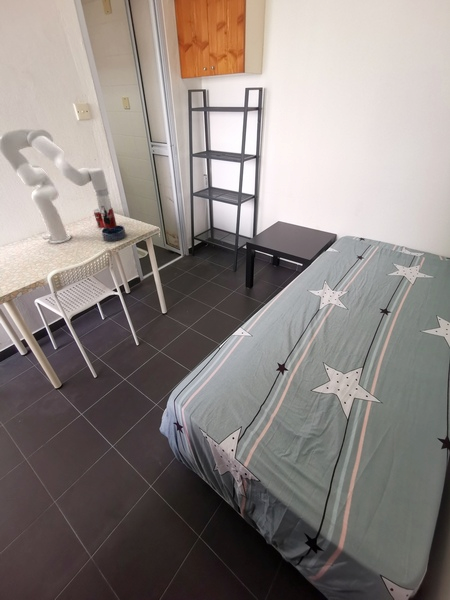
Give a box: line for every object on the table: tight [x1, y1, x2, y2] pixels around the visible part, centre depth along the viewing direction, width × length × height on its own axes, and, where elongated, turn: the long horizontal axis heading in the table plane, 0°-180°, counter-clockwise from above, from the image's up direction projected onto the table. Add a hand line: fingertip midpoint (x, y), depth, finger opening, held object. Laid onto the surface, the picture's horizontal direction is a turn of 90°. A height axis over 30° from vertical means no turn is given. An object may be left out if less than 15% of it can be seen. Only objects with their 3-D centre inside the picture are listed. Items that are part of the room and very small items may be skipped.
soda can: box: [101, 206, 118, 229], centre depth 173 cm, size 7×7×12 cm
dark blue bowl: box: [101, 224, 127, 242], centre depth 179 cm, size 14×14×5 cm
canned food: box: [93, 208, 105, 229], centre depth 194 cm, size 8×8×11 cm
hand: (109, 221), depth 175 cm, fingers closed on soda can, 7 cm apart
